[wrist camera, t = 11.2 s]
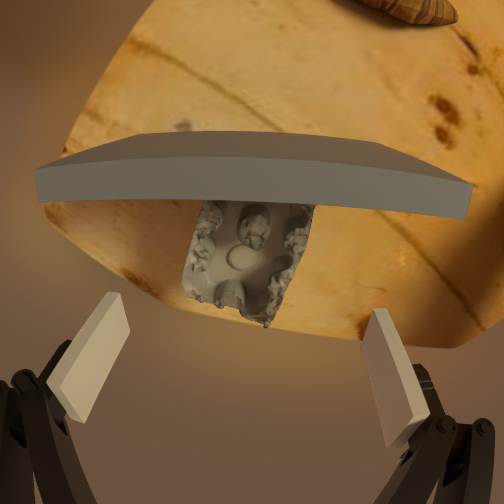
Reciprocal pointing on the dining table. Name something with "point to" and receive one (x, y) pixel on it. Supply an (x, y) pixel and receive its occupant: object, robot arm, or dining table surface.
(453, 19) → the croissant
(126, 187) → the wall board
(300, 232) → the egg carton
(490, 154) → the dining table surface
